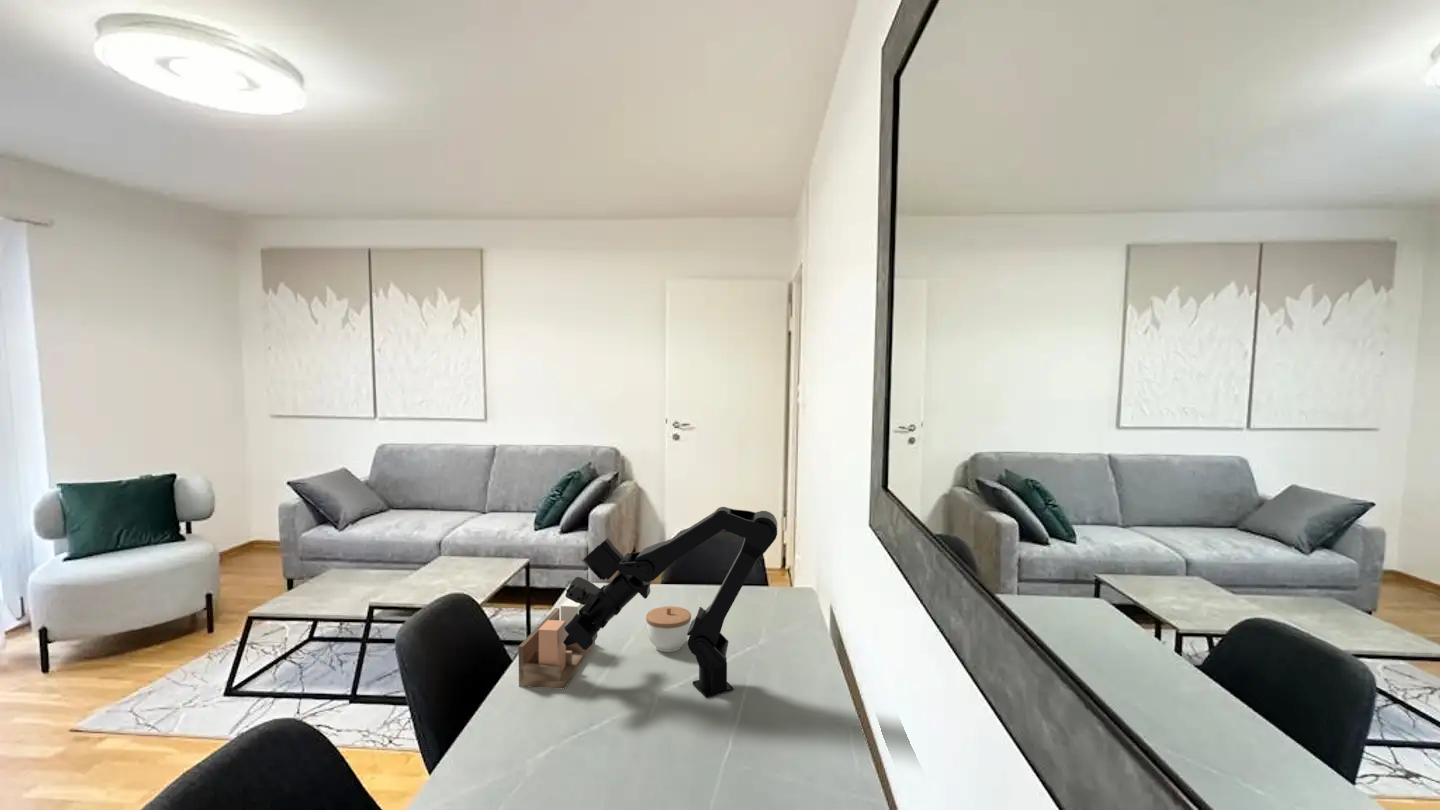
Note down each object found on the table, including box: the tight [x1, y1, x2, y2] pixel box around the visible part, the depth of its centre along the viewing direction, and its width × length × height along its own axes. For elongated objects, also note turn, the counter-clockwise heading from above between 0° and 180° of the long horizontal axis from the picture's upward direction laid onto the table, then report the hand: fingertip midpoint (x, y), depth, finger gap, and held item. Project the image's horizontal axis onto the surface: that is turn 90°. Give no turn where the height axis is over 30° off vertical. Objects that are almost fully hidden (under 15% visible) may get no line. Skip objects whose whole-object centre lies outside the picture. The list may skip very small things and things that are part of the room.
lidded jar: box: [645, 605, 692, 653], centre depth 144 cm, size 11×11×9 cm
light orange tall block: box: [539, 619, 566, 670], centre depth 128 cm, size 4×5×10 cm
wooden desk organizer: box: [518, 607, 596, 690], centre depth 135 cm, size 10×21×8 cm, turn 174°
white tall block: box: [560, 598, 584, 637], centre depth 141 cm, size 4×5×10 cm
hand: (565, 643), depth 128 cm, fingers closed
